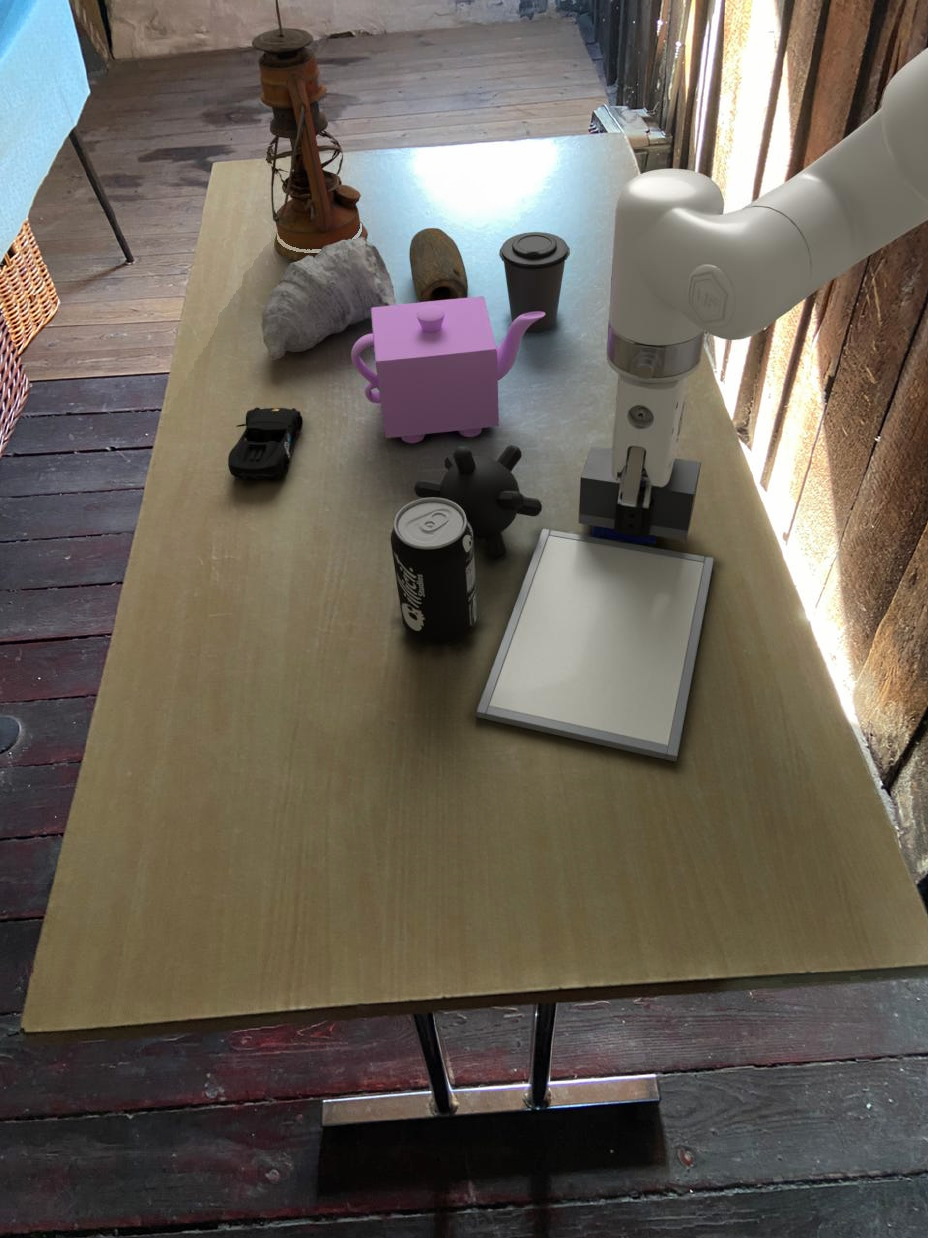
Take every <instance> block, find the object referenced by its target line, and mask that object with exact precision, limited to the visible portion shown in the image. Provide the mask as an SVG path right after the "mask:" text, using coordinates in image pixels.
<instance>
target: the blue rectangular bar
mask: <svg viewBox="0 0 928 1238" xmlns="http://www.w3.org/2000/svg"><path fill="white" fill-rule="evenodd" d="M602 536H608V537H614V538H620V539H625V540H631V541H637V542H643V543H644V544H649V545H656V542H657V538H658V536H655V535H649V536H648V537H639V536H633V535H627V534H621V533H616V532H615V531H614V529H612V528H605V527H604V529H603V532H602Z"/></svg>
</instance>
